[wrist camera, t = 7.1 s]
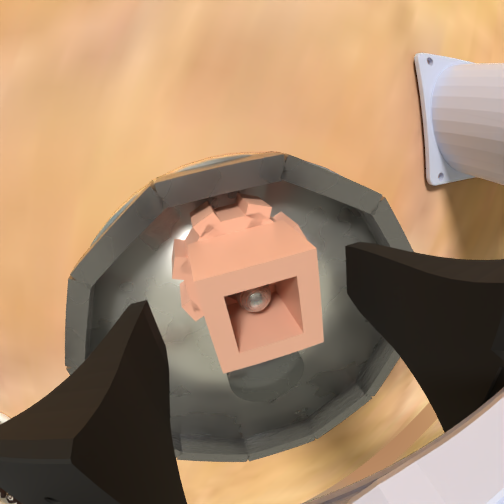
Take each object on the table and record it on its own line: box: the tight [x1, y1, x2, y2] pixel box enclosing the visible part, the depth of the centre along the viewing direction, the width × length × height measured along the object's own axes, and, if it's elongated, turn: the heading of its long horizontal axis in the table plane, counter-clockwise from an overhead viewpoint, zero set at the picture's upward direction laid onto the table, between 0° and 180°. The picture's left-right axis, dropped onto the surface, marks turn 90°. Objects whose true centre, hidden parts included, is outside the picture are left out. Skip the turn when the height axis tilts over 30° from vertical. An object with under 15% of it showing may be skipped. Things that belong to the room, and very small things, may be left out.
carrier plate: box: [65, 151, 413, 462], centre depth 15 cm, size 19×19×5 cm
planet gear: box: [172, 193, 324, 374], centre depth 12 cm, size 5×5×5 cm
